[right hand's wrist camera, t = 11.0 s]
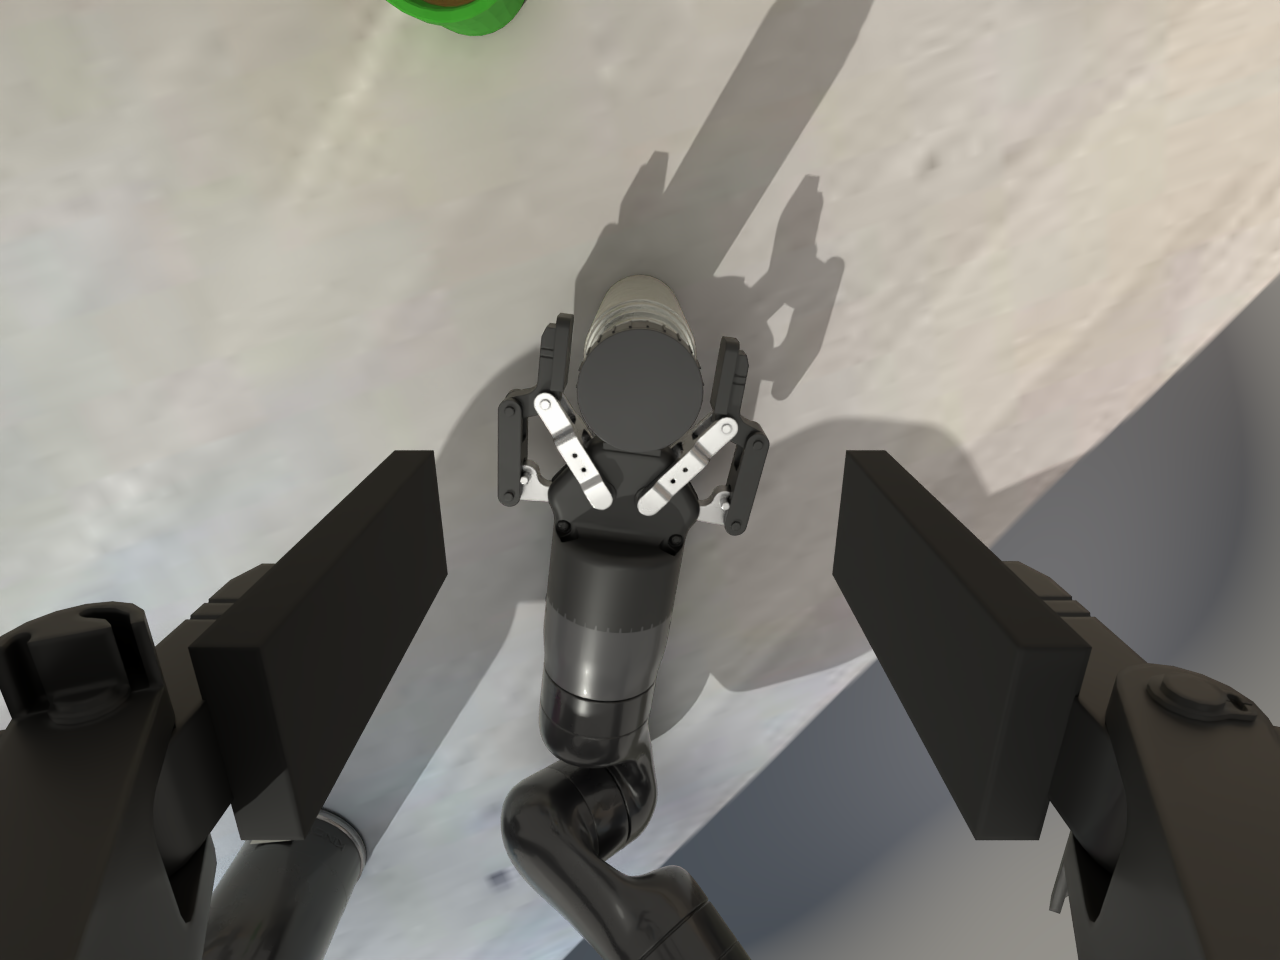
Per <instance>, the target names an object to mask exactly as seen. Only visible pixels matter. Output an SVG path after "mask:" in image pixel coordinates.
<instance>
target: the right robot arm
mask: <svg viewBox="0 0 1280 960" xmlns="http://www.w3.org/2000/svg"><path fill="white" fill-rule="evenodd" d="M447 575H448V573H447V564H446V556H445V547H444V538H443V529H442V520H441V511H440V502H439V494H438V485H437V476H436V467H435V458H434V450H395V451H394V452H393V453H392V454H391V455H389V456H388V457H387V458H386V459H385V460H384V461H383V462H382V463H381V464H380V465H379V466H378V467H377V468H376V469H375V470H374V471H373V472H372V473H371V474H369V475H368V476H367V477H366V478H365V479H364V480H363V481H362V482H361V483H360V484H359V485H358V486H357V487H356V488H355V489H354V490H353V491H352V492H351V493H349V494H348V495H347V496H346V497H345V498H344V499H343V500H342V501H341V502H340V503H339V504H338V505H337V506H336V507H335V508H334V509H333V510H332V511H331V512H329V513H328V514H327V515H326V516H325V517H324V518H323V519H322V520H321V521H320V522H319V523H318V524H317V525H316V526H315V527H314V528H313V529H312V530H311V531H309V532H308V533H307V534H306V535H305V536H304V537H303V538H302V539H301V540H300V541H299V542H298V543H297V544H296V545H295V546H294V547H293V548H292V549H291V550H289V551H288V552H287V553H286V554H285V555H284V556H283V557H282V558H281V559H280V560H279V561H278V562H277V563H276V564H261V565H259V566H257V567H255V568H253V569H251V570H249V571H247V572H245V573H243V574H241V575H239V576H237V577H235V578H233V579H231V580H230V581H229V582H228V583H227V584H225V585H224V586H223V587H222V588H221V589H220V590H219V591H217V592H216V593H215V594H214V595H213V596H212V597H211V598H210V599H209V602H208V603H204V604H203V605H202V606H201V607H199V608H198V609H197V610H196V611H195V612H194V613H193V614H192V615H191V618H190V620H185V621H184V622H182V623H181V624H180V625H179V626H178V627H177V628H176V629H175V630H173V631H172V632H171V633H170V634H169V635H168V636H167V637H166V638H164V639H163V640H162V641H161V642H160V643H159V644H158V645H156V646H154V642H153V639H152V636H151V632H150V629H149V625H148V622H147V619H146V615H145V612H144V610H143V609H141V608H139V607H138V606H136V605H134V604H133V603H123V602H114V601H111V602H101V603H91V604H84V605H80V606H76V607H72V608H67V609H63V610H59V611H55V612H53V613H50V614H47V615H45V616H42V617H39V618H37V619H34V620H31V621H29V622H26V623H24V624H22V625H21V626H19V627H17V628H15V629H13V630H11V631H10V632H8V633H6V634H4V635H2V636H1V637H0V690H1V693H2V695H3V698H4V700H5V702H6V705H7V707H8V710H9V712H10V715H11V717H12V720H11V721H10V723H9V725H8V726H7V728H6V730H0V960H202V955H203V949H204V943H205V936H206V930H207V923H208V917H209V910H210V904H211V897H212V891H213V885H214V878H215V872H216V865H217V861H216V854H215V848H214V844H213V841H212V838H211V834H210V832H211V831H212V829H213V828H214V827H215V825H216V824H217V822H218V821H219V819H220V818H221V817H222V815H223V814H224V812H225V811H226V809H227V808H228V807H229V805H230V804H231V805H232V809H233V813H234V816H235V820H236V823H237V827H238V831H239V834H240V838H241V840H305V838H306V836H307V834H308V832H309V831H310V829H311V827H312V825H313V823H314V821H315V819H316V818H317V816H318V814H319V812H320V810H321V808H322V806H323V805H324V803H325V801H326V799H327V797H328V795H329V793H330V792H331V790H332V788H333V786H334V784H335V782H336V781H337V779H338V777H339V775H340V773H341V771H342V769H343V768H344V766H345V764H346V762H347V760H348V758H349V756H350V755H351V753H352V751H353V749H354V747H355V745H356V743H357V742H358V740H359V738H360V736H361V734H362V732H363V730H364V729H365V727H366V725H367V723H368V721H369V719H370V717H371V716H372V714H373V712H374V710H375V708H376V706H377V704H378V703H379V701H380V699H381V697H382V695H383V693H384V691H385V690H386V688H387V686H388V684H389V682H390V680H391V678H392V677H393V675H394V673H395V671H396V669H397V667H398V665H399V664H400V662H401V660H402V658H403V656H404V654H405V652H406V651H407V649H408V647H409V645H410V643H411V641H412V639H413V638H414V636H415V634H416V632H417V630H418V628H419V627H420V625H421V623H422V621H423V619H424V617H425V615H426V614H427V612H428V610H429V608H430V606H431V604H432V602H433V601H434V599H435V597H436V595H437V593H438V591H439V589H440V588H441V586H442V584H443V582H444V580H445V578H446V576H447ZM832 575H833V576H834V578H835V580H836V582H837V584H838V586H839V588H840V589H841V591H842V593H843V595H844V597H845V599H846V601H847V602H848V604H849V606H850V608H851V610H852V612H853V614H854V615H855V617H856V619H857V621H858V623H859V625H860V627H861V628H862V630H863V632H864V634H865V636H866V638H867V640H868V641H869V643H870V645H871V647H872V649H873V651H874V653H875V654H876V656H877V658H878V660H879V662H880V664H881V665H882V667H883V669H884V671H885V673H886V675H887V677H888V678H889V680H890V682H891V684H892V686H893V688H894V690H895V691H896V693H897V695H898V697H899V699H900V701H901V703H902V704H903V706H904V708H905V710H906V712H907V714H908V716H909V717H910V719H911V721H912V723H913V725H914V727H915V728H916V730H917V732H918V734H919V736H920V738H921V740H922V742H923V743H924V745H925V747H926V749H927V751H928V753H929V755H930V756H931V758H932V760H933V762H934V764H935V766H936V768H937V769H938V771H939V773H940V775H941V777H942V779H943V781H944V782H945V784H946V786H947V788H948V790H949V792H950V793H951V795H952V797H953V799H954V801H955V803H956V805H957V807H958V808H959V810H960V812H961V814H962V816H963V818H964V819H965V821H966V823H967V825H968V827H969V829H970V830H971V832H972V834H973V836H974V838H975V840H1039V838H1040V834H1041V831H1042V827H1043V823H1044V820H1045V816H1046V813H1047V809H1048V805H1049V802H1050V801H1051V803H1052V804H1053V806H1054V807H1055V808H1056V810H1057V811H1058V813H1059V814H1060V816H1061V817H1062V818H1063V820H1064V821H1065V823H1066V824H1067V825H1068V827H1069V828H1070V830H1071V831H1070V834H1069V838H1068V841H1067V844H1066V848H1065V851H1064V854H1063V858H1062V861H1061V864H1060V868H1059V871H1058V875H1057V878H1056V881H1055V885H1054V888H1053V892H1052V895H1051V901H1050V908H1049V910H1050V911H1053V912H1056V913H1059V914H1060V912H1061V909H1062V906H1063V902H1064V899H1065V897H1067V896H1069V902H1070V908H1071V915H1072V921H1073V928H1074V934H1075V940H1076V947H1077V953H1078V960H1280V727H1277V726H1273V725H1272V723H1271V722H1270V720H1269V718H1268V717H1267V716H1266V715H1265V714H1264V713H1263V712H1262V711H1261V710H1260V709H1259V708H1258V706H1257V705H1256V704H1255V703H1254V702H1253V701H1251V700H1250V699H1248V698H1247V697H1245V696H1243V695H1242V694H1240V693H1239V692H1237V691H1236V690H1234V689H1233V688H1231V687H1230V686H1227V685H1225V684H1223V683H1221V682H1218V681H1216V680H1214V679H1211V678H1209V677H1207V676H1205V675H1203V674H1199V673H1196V672H1192V671H1189V670H1185V669H1182V668H1178V667H1175V666H1168V665H1159V664H1150V663H1147V662H1146V661H1145V660H1143V659H1142V658H1141V657H1140V656H1139V655H1138V654H1137V653H1135V652H1134V651H1133V650H1132V649H1131V648H1130V647H1129V646H1128V645H1126V644H1125V643H1124V642H1123V641H1122V640H1121V639H1119V638H1118V637H1117V636H1116V635H1115V634H1114V633H1113V632H1112V631H1110V630H1109V629H1108V628H1107V627H1106V626H1105V625H1104V624H1102V623H1101V622H1100V621H1099V620H1098V619H1097V618H1096V617H1091V616H1090V612H1089V611H1088V610H1086V609H1085V608H1084V607H1083V606H1082V605H1081V604H1080V603H1078V602H1077V601H1072V596H1071V595H1069V594H1068V593H1067V592H1066V591H1065V590H1064V589H1063V588H1061V587H1060V586H1059V585H1058V584H1057V583H1056V582H1055V581H1053V580H1052V579H1051V578H1050V577H1048V576H1046V575H1044V574H1042V573H1040V572H1038V571H1036V570H1034V569H1032V568H1030V567H1028V566H1027V565H1025V564H1023V563H1021V562H1019V561H1001V560H1000V559H999V558H998V557H997V556H996V555H995V554H994V553H993V552H992V551H991V550H989V549H988V548H987V547H986V546H985V545H984V544H983V543H982V542H981V541H980V540H979V539H978V538H977V537H976V536H975V535H974V534H973V533H972V532H971V531H969V530H968V529H967V528H966V527H965V526H964V525H963V524H962V523H961V522H960V521H959V520H958V519H957V518H956V517H955V516H954V515H953V514H952V513H951V512H949V511H948V510H947V509H946V508H945V507H944V506H943V505H942V504H941V503H940V502H939V501H938V500H937V499H936V498H935V497H934V496H933V495H932V494H931V493H929V492H928V491H927V490H926V489H925V488H924V487H923V486H922V485H921V484H920V483H919V482H918V481H917V480H916V479H915V478H914V477H913V476H912V475H911V474H909V473H908V472H907V471H906V470H905V469H904V468H903V467H902V466H901V465H900V464H899V463H898V462H897V461H896V460H895V459H894V458H893V457H892V456H891V455H889V454H888V453H887V452H886V451H885V450H846V458H845V467H844V476H843V485H842V493H841V502H840V511H839V520H838V529H837V538H836V547H835V556H834V564H833V573H832Z"/></svg>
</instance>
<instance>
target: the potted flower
mask: <svg viewBox="0 0 1280 960" xmlns="http://www.w3.org/2000/svg"><path fill="white" fill-rule="evenodd" d="M386 1H388V2H389V3H390V4H392V5H393V6H395V7H396V8H398V9H399V10H401V11H402V12H404V13H406V14H408V15H410V16H413V17H415V18H417V19H420V20H422V21H424V22H426V23H430V24H435V25H440V26H443V27H445V28H447V29H449V30H451V31H454V32H456V33H458V34H463V35H468V36H482V35H486V34H489V33H493V32H495V31H497V30H499V29H501V28H503V27H504V26H505V25H506V24H507V23H509V22H510V21H511V20H512V19H513V18H514V17H515V15H516V14H517V13H518V11H519V10H520V8H521V6H522V4H523V2H524V0H386Z"/></svg>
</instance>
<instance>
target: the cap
mask: <svg viewBox="0 0 1280 960" xmlns="http://www.w3.org/2000/svg"><path fill="white" fill-rule="evenodd" d="M699 369H701V367H700V365H699V362H698V360H696V359H695V357H694V355H693V351H692V349H691V346H690V345H687V344H686V343H685V341H684V340H683V339H682V338H681V337H680V334H679V333H677V334H676V333H675V332H673V331H672V330H670V329H668V328H666V327H665V325H664V324H663V325H662V326H661V325H659V324H656V323H651V322H649V320H646V322H641V321H639V322H632V320H631V321H629V323H625V324H622V325H619V326H615V325H614V326H613V328H612V329H610V330H609V331H607V332H606V333H604V334H603V335H601V334H600V335H599V337H598V339H597V340H596V342H595V343H594V344H593V345H592V347H589V348H588V350H587V353H586V357H585V360H584V362H583V361H582V363H581V365H580V368H579V371H580V373H579V377H578V382H577V385H576V388H577V398H578V405H579V408H580V411H581V413H582V416H583V418H584V420H585V421H586V423H587V425H588V426H589V427H590V429H591V430H592V431H593V432H594V433H595V434H596V435H597V436H598V437H599V438H600V439H602V440H603V441H604V442H606V443H608V444H609V445H611V446H614V447H616V448H618V449H621V450H625V451H630V452H650V451H655V450H659V449H662V448H664V447H667V446H669V445H671V444H672V443H674V442H676V441H677V440H678V439H680V438H681V437H682V436H683V435H684V434H685V433H686V432H687V431H688V430H689V429H690V428H691V426H692V425H693V423H694V422H695V420H696V418H697V416H698V414H699V411H700V408H701V404H702V401H703V400H702V399H703V386H704V383H703V380H702V376H701V373H700V370H699Z"/></svg>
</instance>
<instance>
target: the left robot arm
mask: <svg viewBox="0 0 1280 960" xmlns="http://www.w3.org/2000/svg"><path fill="white" fill-rule="evenodd" d="M573 322H574V315H572V314H565V313H560V314H559V315H558V317H557V321H556V324H553V323H550V324H549V325H548V326H547V327H546V329H545V331H544V333H543V335H542V338H541V350H540V361H539V373H538V383H537V385H536V386H534V387H532V388H528V389H523V390H520V389H514V390H511V391H510V392H509V393H508V394H507V396H506V398H505V400H503V401H502V402H501V404H500V405H499V408H498V499H499V501H500V502H501V503H502V504H503V505H505V506H514V505H516V504H517V503H518V502H519V500H530V501H544V502H549V504H550V506H551V508H552V510H553V513H554V529H553V539H552V548H551V558H550V568H549V578H548V588H547V594H546V607H545V617H544V629H543V633H544V652H545V654H544V667H543V676H542V686H541V695H540V707H539V728H540V733H541V737H542V739H543V742H544V743H545V745H546V747H547V748H548V749H549V751H550V752H551V753H552V754H553V755H554V756H556V757H557V758H558V759H560V760H559V761H557V762H555V763H554V764H552V765H550V766H548V767H546V768H545V769H542V770H540V771H538V772H537V773H535V774H533V775H531V776H529V777H527V778H526V779H524V780H522V781H521V782H520V783H518V784H517V785H516V786H514V787H513V788H512V790H511V791H510V792H509V793H508V795H507V797H506V798H505V801H504V804H503V807H502V813H501V833H502V839H503V843H504V846H505V849H506V852H507V854H508V856H509V858H510V860H511V862H512V863H513V865H514V866H515V868H516V870H517V871H518V872H519V874H520V875H521V876H522V877H523V879H524V880H525V881H526V882H527V883H528V884H529V885H530V886H531V887H532V888H533V889H534V890H535V891H536V892H537V893H538V894H539V895H540V896H541V897H542V898H543V899H544V900H546V901H547V902H548V903H549V904H550V905H551V906H552V907H553V908H554V909H556V910H557V911H558V912H559V913H560V914H561V915H562V916H563V917H564V918H565V919H566V920H567V921H568V922H569V923H570V924H571V925H572V926H573V927H574V928H575V929H576V931H577V932H578V933H579V934H580V935H581V936H582V937H583V938H584V939H585V940H586V941H587V942H588V943H589V944H590V945H591V946H592V947H593V948H594V949H595V950H596V951H597V952H598V954H599V955H600V956H601V957H602V958H603V959H604V960H751V959H750V957H749V956H748V955H747V953H746V952H745V950H744V949H743V947H742V946H741V945H740V943H739V942H738V941H737V939H736V937H735V936H734V935H733V933H732V932H731V930H730V929H729V928H728V926H727V925H726V923H725V922H724V921H723V919H722V918H721V916H720V915H719V913H718V912H717V911H716V909H715V908H714V906H713V905H712V904H711V902H707V901H708V898H707V896H706V895H705V894H704V892H703V891H702V889H701V888H700V887H699V885H698V884H697V883H696V881H695V880H694V879H693V878H692V876H691V875H690V874H689V873H688V872H687V871H686V870H685V869H683V868H682V867H680V866H676V865H670V866H666V867H662V868H659V869H657V870H654V871H652V872H649V873H647V874H643V875H639V876H628V875H625V874H623V873H621V872H620V871H618V870H616V869H615V868H613V867H612V866H611V865H609V864H608V863H606V862H605V861H606V860H607V859H609V858H610V857H611V856H613V855H614V854H616V853H617V852H619V851H620V850H621V849H623V848H624V847H626V846H627V845H628V844H630V843H631V842H632V841H634V840H635V839H637V838H638V837H639V836H640V835H641V833H642V832H643V831H644V830H645V829H646V827H647V825H648V824H649V822H650V820H651V818H652V815H653V813H654V810H655V807H656V803H657V795H658V791H657V782H656V775H655V768H654V762H653V753H652V745H651V739H650V733H649V726H648V720H649V716H650V710H651V705H652V700H653V694H654V688H655V683H656V676H657V672H658V668H659V665H660V663H661V660H662V657H663V654H664V651H665V647H666V643H667V638H668V633H669V627H670V622H671V616H672V611H673V605H674V599H675V594H676V588H677V583H678V577H679V572H680V566H681V561H682V555H683V549H684V544H685V539H686V535H687V533H688V531H689V529H690V528H691V526H692V525H693V524H694V523H695V522H696V521H701V522H707V523H712V524H718V525H723V526H725V529H726V531H727V532H728V533H729V534H730V535H740V534H742V533H743V532H744V531H745V529H746V527H747V523H748V520H749V516H750V513H751V509H752V506H753V502H754V498H755V495H756V491H757V488H758V484H759V481H760V477H761V474H762V470H763V467H764V463H765V459H766V456H767V452H768V449H769V440H768V438H767V436H766V435H765V433H764V431H763V429H762V428H761V426H760V425H759V424H758V423H757V422H754V421H750V420H748V419H746V418H744V417H742V416H741V415H740V408H741V403H742V398H743V393H744V388H745V383H746V377H747V372H748V367H749V364H748V359H747V355H746V354H745V353H744V351H742V350H739V341H738V340H737V339H736V338H731V337H724V336H723V337H722V340H721V344H720V350H719V355H718V361H717V366H716V372H715V377H714V383H713V389H712V394H711V400H710V404H711V406H712V409H713V410H712V411H711V412H710V413H709V414H708V415H707V416H706V417H705V418H704V419H703V420H701V421H700V422H699V423H698V424H697V425H696V426H695V427H694V428H693V429H690V430H688V431H687V432H686V433H685V434H684V435H683V436H682V437H681V438H680V439H678V440H677V441H676V442H675V443H673V444H672V445H671V446H670V447H669V446H667V447H664V448H662V449H659V450H655V451H650V452H630V451H625V450H621V449H618V448H616V447H614V446H611V445H609V444H608V443H606V442H604V441H603V440H602V439H600V438H599V437H598V436H596V437H594V438H593V436H592V435H591V433H590V431H589V430H588V428H587V427H586V425H585V423H584V422H583V420H582V418H581V417H580V416H579V415H578V414H577V413H576V412H575V411H574V409H573V407H572V406H571V404H570V403H569V401H568V399H567V398H566V396H565V394H564V393H563V391H564V389H565V387H566V384H567V381H568V371H569V362H570V352H571V342H572V332H573ZM535 415H539V416H540V418H541V419H542V421H543V422H544V424H545V426H546V427H547V429H548V430H549V432H550V433H551V435H552V437H553V440H554V443H555V446H556V447H557V449H558V451H559V452H560V454H561V455H562V457H563V458H564V460H565V462H566V463H567V464H566V465H565V466H564V467H563V468H562V469H561V470H560V471H559V472H558V473H557V474H556V475H555V476H554V477H553V479H552V480H551V481H548V480H546V479H544V478H543V477H542V476H541V474H540V470H539V466H538V465H537V463H535V462H534V461H532V460H527V453H528V417H531V416H535ZM729 441H731V442H733V443H735V444H737V445H736V449H735V453H734V457H733V460H732V464H731V468H730V472H729V476H728V479H727V483H726V485H721V486H718V487H716V488H715V489H714V490H713V492H712V494H711V496H710V497H709V498H707V499H705V500H698V496H697V494H696V492H695V490H694V488H693V486H692V485H691V483H690V480H691V479H692V478H693V477H695V476H696V475H697V474H698V473H699V472H700V471H701V470H702V469H703V468H704V467H705V466H706V465H707V464H708V463H709V461H710V459H711V457H712V456H713V455H714V454H716V453H717V452H718V451H719V450H720V449H721V448H722V447H723V446H724V445H725V444H727V443H728V442H729ZM681 450H683V452H681ZM574 453H575V454H574ZM684 468H686V469H684ZM365 863H366V849H365V846H364V843H363V841H362V839H361V837H360V836H359V834H358V833H357V832H356V830H355V829H354V828H353V827H352V826H351V825H350V824H348V823H347V822H346V821H344V820H343V819H342V818H340V817H338V816H336V815H334V814H332V813H330V812H327V811H325V810H320V812H319V814H318V816H317V818H316V819H315V821H314V823H313V825H312V827H311V829H310V831H309V832H308V834H307V836H306V838H305V840H246V841H245V843H244V845H243V846H242V848H241V849H240V851H239V852H238V854H237V856H236V857H235V859H234V860H233V862H232V863H231V865H230V866H229V868H228V869H227V871H226V872H225V874H224V876H223V877H222V879H221V880H220V882H219V884H218V885H217V887H216V888H215V890H214V891H213V893H212V897H211V904H210V910H209V917H208V923H207V930H206V936H205V943H204V949H203V955H202V960H323V959H324V956H325V954H326V952H327V949H328V947H329V945H330V942H331V940H332V938H333V935H334V933H335V931H336V928H337V926H338V924H339V921H340V919H341V917H342V914H343V912H344V910H345V908H346V905H347V903H348V901H349V898H350V896H351V894H352V891H353V889H354V887H355V884H356V882H357V881H358V880H359V878H360V876H361V873H362V871H363V869H364V866H365Z"/></svg>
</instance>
